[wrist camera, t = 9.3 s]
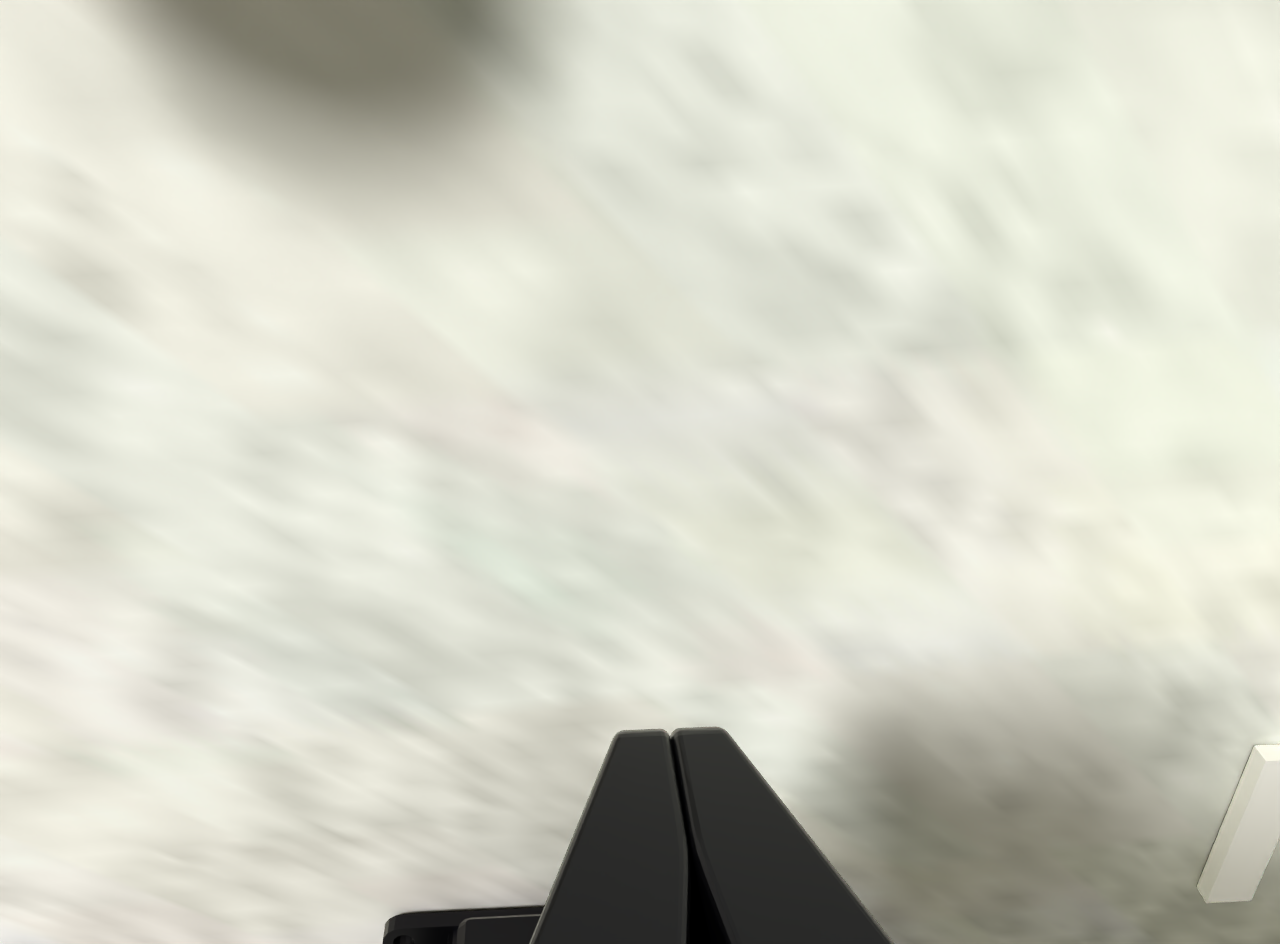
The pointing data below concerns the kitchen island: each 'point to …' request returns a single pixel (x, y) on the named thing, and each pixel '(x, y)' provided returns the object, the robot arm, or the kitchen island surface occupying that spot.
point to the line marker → (1246, 832)
